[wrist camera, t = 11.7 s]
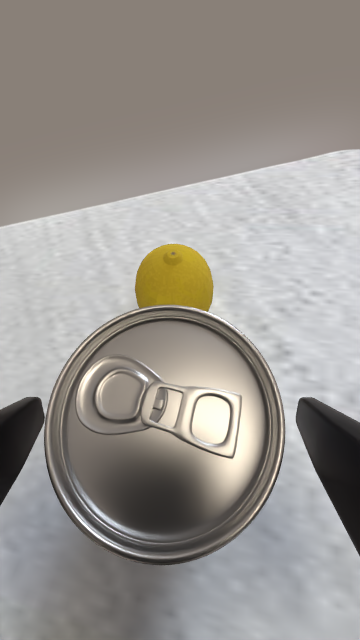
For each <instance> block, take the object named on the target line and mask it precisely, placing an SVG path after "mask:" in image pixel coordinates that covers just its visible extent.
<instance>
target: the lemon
mask: <svg viewBox="0 0 360 640" xmlns="http://www.w3.org/2000/svg"><path fill="white" fill-rule="evenodd" d="M135 293H136V298H137V303H138V306H139V308H143V307H148V306H155V305H181V306H188V307H193V308H197V309H200V310H203V311H206V312H208V310H209V308H210V305H211V303H212V297H213V280H212V276H211V271H210V269H209V267H208V265H207V263H206V261H205V259H204V258H203V257H202V256H201V255H200V254H199V253H198V252H197V251H195V250H193V249H192V248H190V247H187V246H184V245H180V244H168V245H163V246H160V247H158V248H156V249H154V250H153V251H151V252H150V253H149V254H148V255H147V256H146V257H145V258H144V260H143V261H142V262H141V265H140V267H139V269H138V271H137V276H136V284H135Z"/></svg>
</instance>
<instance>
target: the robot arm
mask: <svg viewBox="0 0 360 640" xmlns="http://www.w3.org/2000/svg"><path fill="white" fill-rule="evenodd" d="M44 419H45V417H44V412H43V407H42V402H41V399H40V398H38V397H26V398H24V399H22V400H20V401H17V402H15V403H13V404H11V405H9V406H7V407H5V408H3V409H1V410H0V505H1V504H2V502H3V500H4V499H5V497H6V495H7V494H8V492H9V490H10V488H11V487H12V485H13V483H14V482H15V480H16V478H17V477H18V475H19V473H20V471H21V469H22V468H23V466H24V464H25V462H26V460H27V458H28V456H29V453H30V451H31V449H32V447H33V445H34V443H35V441H36V439H37V437H38V434H39V432H40V430H41V428H42V426H43V424H44ZM296 423H297V426H298V429H299V431H300V434H301V436H302V439H303V441H304V444H305V446H306V449H307V451H308V454H309V456H310V459H311V461H312V464H313V466H314V468H315V470H316V472H317V474H318V476H319V478H320V480H321V482H322V484H323V486H324V488H325V490H326V492H327V494H328V496H329V498H330V500H331V502H332V503H333V505H334V507H335V509H336V511H337V513H338V515H339V517H340V519H341V521H342V523H343V525H344V527H345V529H346V531H347V532H348V534H349V536H350V538H351V540H352V542H353V544H354V546H355V548H356V550H357V552H358V554H359V556H360V423H359V422H358V421H356V420H354V419H352V418H350V417H348V416H346V415H344V414H343V413H341V412H339V411H337V410H335V409H333V408H331V407H330V406H328V405H326V404H324V403H322V402H320V401H318V400H317V399H315V398H312V397H302V398H300V399H299V402H298V408H297V413H296Z"/></svg>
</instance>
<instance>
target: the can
mask: <svg viewBox="0 0 360 640" xmlns="http://www.w3.org/2000/svg"><path fill="white" fill-rule="evenodd" d="M284 444H285V418H284V410H283V405H282V400H281V396H280V392H279V389H278V386H277V383H276V381H275V378H274V376H273V374H272V372H271V370H270V368H269V366H268V364H267V362H266V361H265V359H264V358H263V356H262V355H261V353H260V352H259V351H258V349H257V348H256V347H255V346H254V344H253V343H252V342H251V341H250V340H249V339H248V338H247V337H246V336H245V335H244V334H243V333H242V332H240V331H239V330H238V329H237V328H236V327H234V326H233V325H231V324H230V323H228V322H227V321H225V320H223V319H222V318H220V317H218V316H216V315H214V314H211V313H209V312H206V311H203V310H200V309H197V308H193V307H188V306H181V305H155V306H148V307H143V308H139V309H136V310H132V311H130V312H127V313H124V314H122V315H120V316H118V317H116V318H114V319H112V320H110V321H108V322H107V323H105V324H104V325H102V326H101V327H99V328H98V329H97V330H95V331H94V332H93V333H92V334H91V335H90V336H88V337H87V338H86V339H85V340H84V341H83V342H82V343H81V344H80V346H79V347H78V348H77V349H76V350H75V351H74V353H73V354H72V355H71V357H70V358H69V360H68V361H67V363H66V364H65V366H64V367H63V369H62V371H61V373H60V375H59V377H58V379H57V381H56V383H55V386H54V388H53V391H52V394H51V397H50V400H49V404H48V409H47V414H46V420H45V430H44V447H45V457H46V464H47V469H48V473H49V477H50V480H51V483H52V486H53V488H54V491H55V493H56V495H57V498H58V500H59V502H60V503H61V505H62V507H63V509H64V510H65V512H66V513H67V515H68V516H69V518H70V519H71V520H72V522H73V523H74V524H75V525H76V526H77V527H78V528H79V530H80V531H81V532H82V533H83V534H85V535H86V536H87V537H88V538H89V539H90V540H91V541H93V542H94V543H95V544H97V545H98V546H100V547H101V548H103V549H104V550H106V551H108V552H110V553H112V554H114V555H116V556H118V557H121V558H123V559H126V560H130V561H133V562H137V563H142V564H150V565H173V564H180V563H185V562H190V561H193V560H196V559H199V558H202V557H205V556H207V555H209V554H211V553H213V552H215V551H217V550H219V549H221V548H222V547H224V546H225V545H227V544H228V543H230V542H231V541H232V540H234V539H235V538H236V537H237V536H238V535H240V534H241V533H242V532H243V531H244V530H245V529H246V528H247V527H248V526H249V525H250V524H251V522H252V521H253V520H254V519H255V518H256V516H257V515H258V514H259V512H260V511H261V509H262V508H263V506H264V505H265V503H266V501H267V499H268V498H269V496H270V494H271V492H272V490H273V487H274V485H275V482H276V480H277V477H278V474H279V471H280V467H281V463H282V458H283V452H284Z"/></svg>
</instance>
